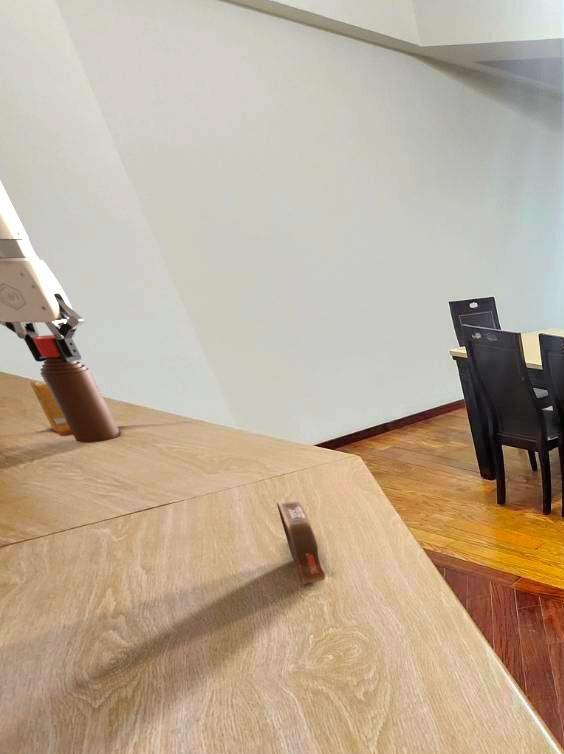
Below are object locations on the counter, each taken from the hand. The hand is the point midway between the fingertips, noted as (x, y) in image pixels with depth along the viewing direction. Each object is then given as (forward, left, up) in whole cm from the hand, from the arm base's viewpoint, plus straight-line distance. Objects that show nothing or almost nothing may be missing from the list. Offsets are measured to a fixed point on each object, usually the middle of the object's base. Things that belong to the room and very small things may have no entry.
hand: (59, 359), depth 110 cm
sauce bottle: (0, 0, -15) cm, 15 cm away
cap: (0, 0, +1) cm, 1 cm away
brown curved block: (+42, -72, -15) cm, 85 cm away
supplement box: (-6, +5, -15) cm, 17 cm away
